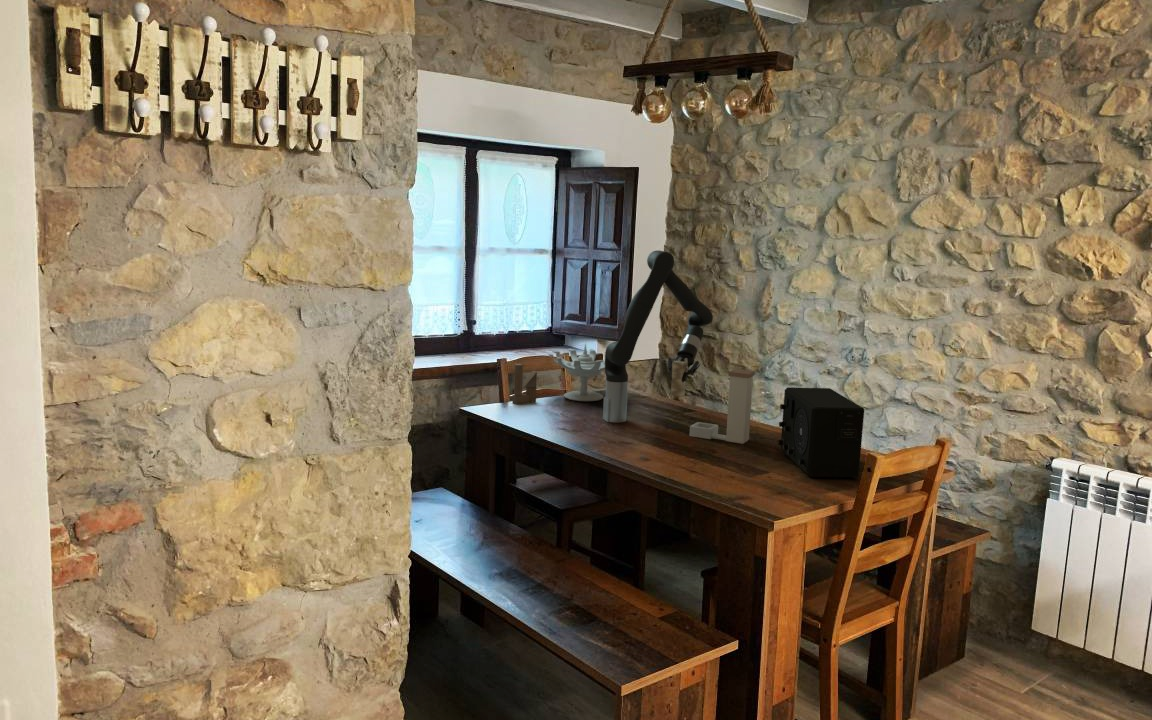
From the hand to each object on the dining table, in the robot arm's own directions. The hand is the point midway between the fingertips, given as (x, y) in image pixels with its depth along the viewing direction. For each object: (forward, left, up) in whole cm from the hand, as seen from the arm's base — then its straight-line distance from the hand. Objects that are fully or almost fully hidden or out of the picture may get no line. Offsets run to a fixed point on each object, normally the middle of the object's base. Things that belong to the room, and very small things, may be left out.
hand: (677, 380), depth 365 cm
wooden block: (-51, +55, -20) cm, 78 cm away
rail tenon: (+1, +1, -7) cm, 7 cm away
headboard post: (+11, -19, -20) cm, 30 cm away
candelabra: (-21, +60, -20) cm, 67 cm away
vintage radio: (+28, -61, -20) cm, 70 cm away
